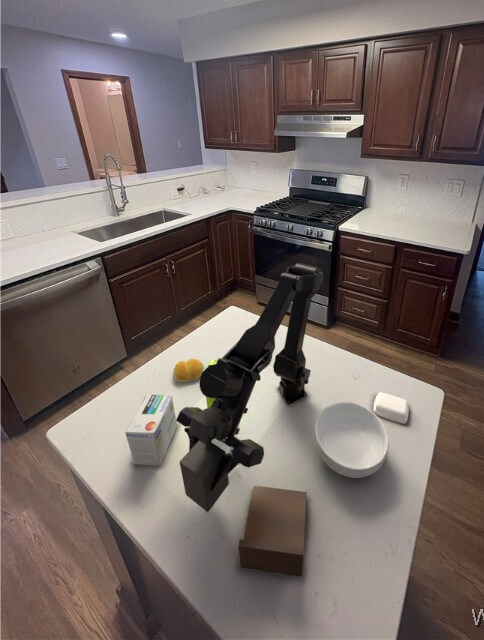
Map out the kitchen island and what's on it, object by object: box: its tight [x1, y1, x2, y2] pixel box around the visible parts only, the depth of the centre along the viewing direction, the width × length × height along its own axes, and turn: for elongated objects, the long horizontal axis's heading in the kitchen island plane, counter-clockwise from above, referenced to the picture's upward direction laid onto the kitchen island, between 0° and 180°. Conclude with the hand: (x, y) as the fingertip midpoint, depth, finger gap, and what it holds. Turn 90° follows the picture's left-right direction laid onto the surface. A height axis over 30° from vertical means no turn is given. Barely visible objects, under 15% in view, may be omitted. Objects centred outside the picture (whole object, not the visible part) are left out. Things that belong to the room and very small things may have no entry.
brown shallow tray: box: [237, 485, 307, 578], centre depth 59 cm, size 12×11×7 cm
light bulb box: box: [124, 394, 178, 466], centre depth 74 cm, size 11×7×11 cm, turn 178°
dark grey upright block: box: [179, 440, 230, 513], centre depth 60 cm, size 6×6×10 cm
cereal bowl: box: [314, 401, 390, 479], centre depth 73 cm, size 17×17×7 cm
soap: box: [373, 391, 410, 425], centre depth 85 cm, size 9×7×3 cm
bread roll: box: [173, 358, 205, 383], centre depth 97 cm, size 8×9×4 cm
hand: (200, 481), depth 60 cm, fingers closed on dark grey upright block, 6 cm apart
